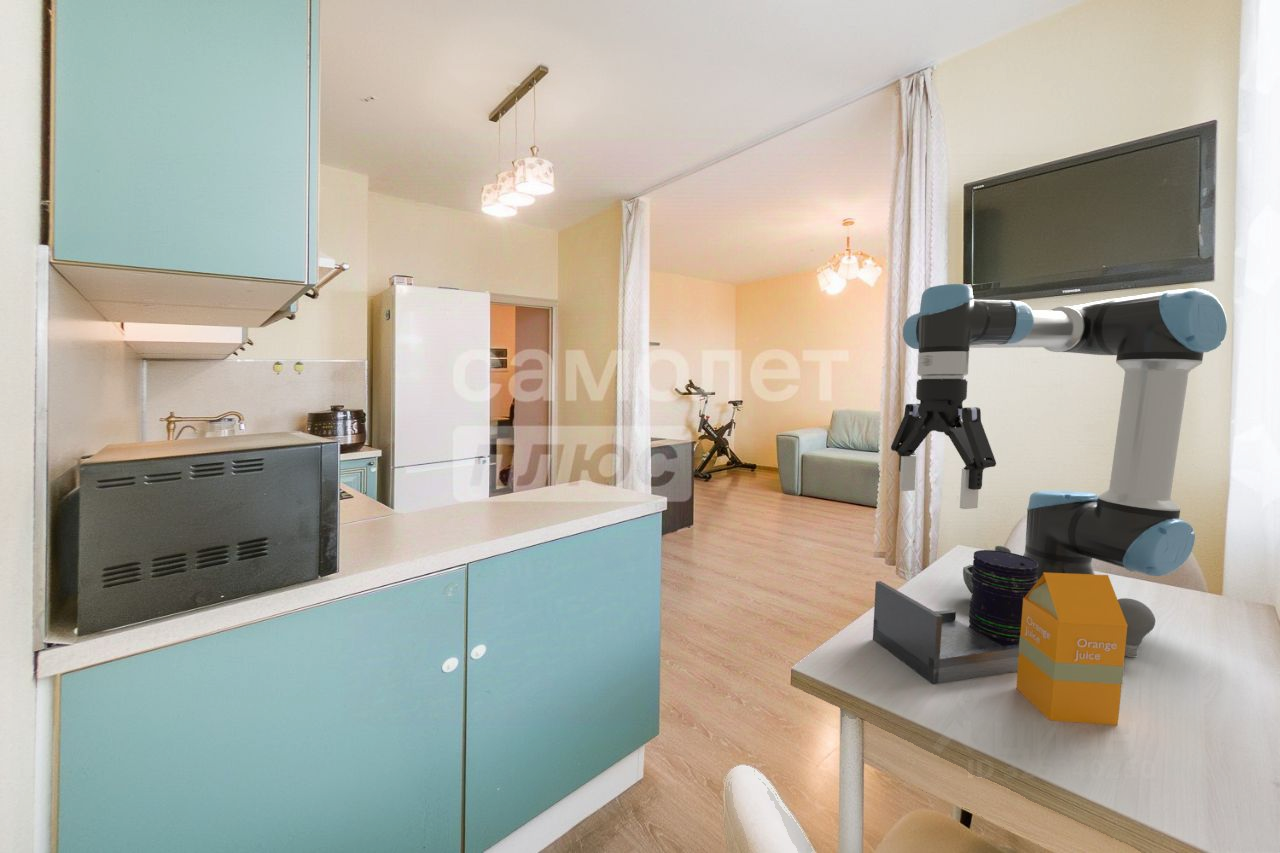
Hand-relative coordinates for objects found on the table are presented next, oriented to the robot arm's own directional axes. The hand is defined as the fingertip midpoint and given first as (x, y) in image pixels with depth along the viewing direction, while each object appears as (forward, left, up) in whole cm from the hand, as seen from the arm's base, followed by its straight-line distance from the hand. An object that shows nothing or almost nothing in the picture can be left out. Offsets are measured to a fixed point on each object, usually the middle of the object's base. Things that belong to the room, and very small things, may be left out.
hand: (935, 498), depth 88 cm
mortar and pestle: (-26, -11, -27) cm, 39 cm away
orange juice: (-6, +19, -27) cm, 34 cm away
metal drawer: (0, +4, -27) cm, 27 cm away
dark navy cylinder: (-15, +1, -27) cm, 31 cm away
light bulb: (-31, +11, -27) cm, 43 cm away
